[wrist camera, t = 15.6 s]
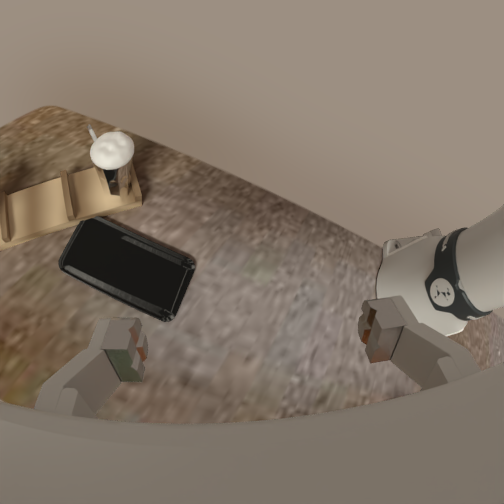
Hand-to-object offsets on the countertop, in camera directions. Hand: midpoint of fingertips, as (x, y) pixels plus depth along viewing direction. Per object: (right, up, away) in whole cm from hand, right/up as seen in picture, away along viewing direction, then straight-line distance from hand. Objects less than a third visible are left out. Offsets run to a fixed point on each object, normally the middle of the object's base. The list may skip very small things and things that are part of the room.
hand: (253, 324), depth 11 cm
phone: (-15, +1, +24) cm, 28 cm away
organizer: (-26, +7, +22) cm, 35 cm away
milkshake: (-17, +10, +25) cm, 31 cm away
